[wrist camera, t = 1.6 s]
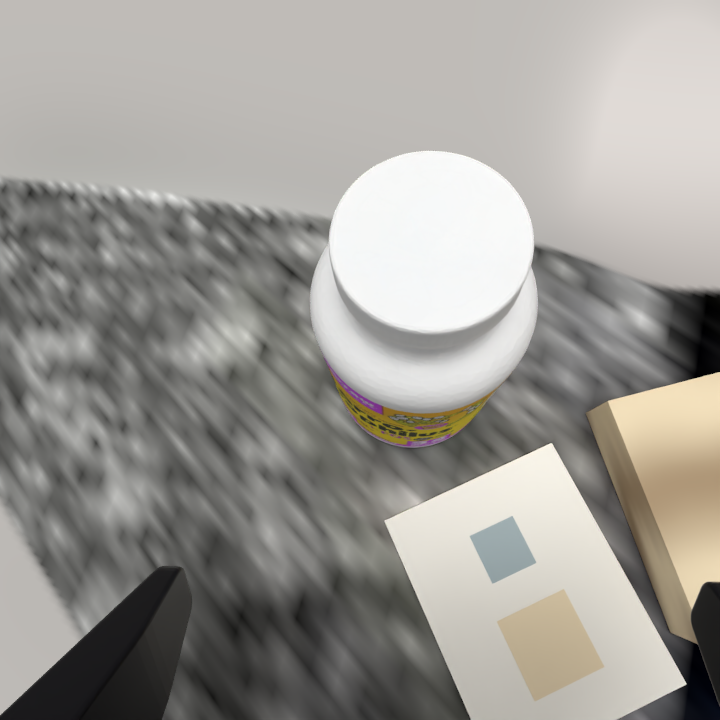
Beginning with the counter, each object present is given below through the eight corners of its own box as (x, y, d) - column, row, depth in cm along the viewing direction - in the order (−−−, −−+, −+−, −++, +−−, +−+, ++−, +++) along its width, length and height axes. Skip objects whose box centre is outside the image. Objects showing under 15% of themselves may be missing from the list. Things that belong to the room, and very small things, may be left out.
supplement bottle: (314, 412, 24) (228, 300, 12) (377, 291, 25) (360, 79, 13) (449, 476, 23) (513, 428, 10) (506, 346, 24) (621, 168, 12)
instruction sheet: (684, 683, 20) (687, 684, 20) (496, 777, 19) (497, 780, 19) (550, 443, 23) (551, 442, 22) (384, 520, 22) (384, 520, 22)
